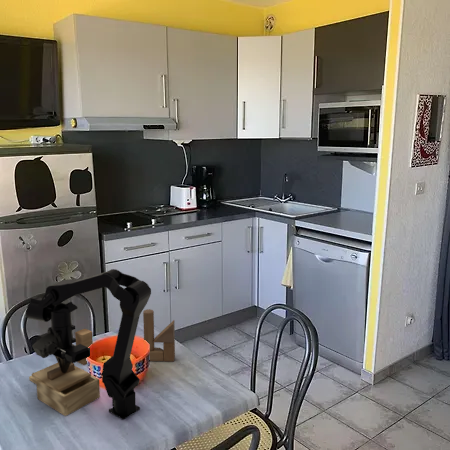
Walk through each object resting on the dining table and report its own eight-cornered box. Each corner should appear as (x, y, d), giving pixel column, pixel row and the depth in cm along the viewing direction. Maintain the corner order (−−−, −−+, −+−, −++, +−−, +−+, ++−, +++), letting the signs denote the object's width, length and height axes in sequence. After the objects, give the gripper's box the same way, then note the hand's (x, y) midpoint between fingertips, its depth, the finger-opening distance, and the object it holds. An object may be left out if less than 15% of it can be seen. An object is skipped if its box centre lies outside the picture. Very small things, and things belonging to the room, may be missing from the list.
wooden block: (173, 362, 162) (173, 313, 158) (142, 361, 162) (141, 312, 159) (175, 356, 166) (174, 309, 162) (144, 356, 166) (143, 308, 162)
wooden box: (100, 397, 140) (99, 379, 139) (65, 416, 131) (64, 397, 130) (50, 370, 155) (49, 353, 154) (16, 385, 146) (15, 368, 145)
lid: (91, 376, 140) (90, 367, 140) (59, 392, 132) (58, 383, 131) (63, 362, 149) (63, 354, 148) (31, 376, 140) (31, 367, 140)
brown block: (93, 360, 162) (92, 331, 160) (83, 365, 159) (82, 335, 157) (86, 357, 165) (84, 328, 162) (76, 361, 161) (75, 332, 159)
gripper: (18, 324, 135) (22, 373, 138) (55, 342, 124) (59, 395, 127) (52, 312, 144) (55, 359, 147) (90, 328, 133) (92, 378, 136)
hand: (64, 372), depth 139 cm, fingers closed
